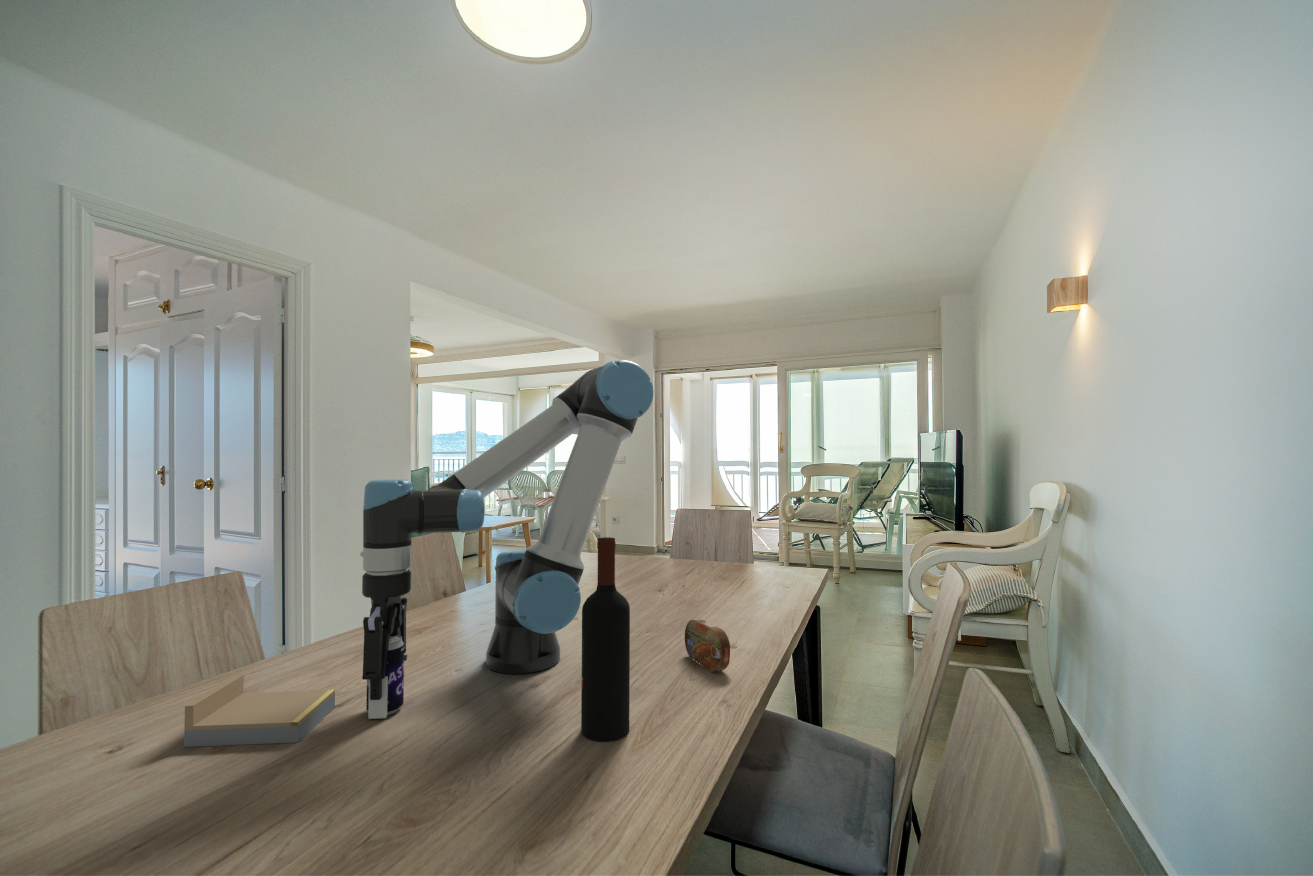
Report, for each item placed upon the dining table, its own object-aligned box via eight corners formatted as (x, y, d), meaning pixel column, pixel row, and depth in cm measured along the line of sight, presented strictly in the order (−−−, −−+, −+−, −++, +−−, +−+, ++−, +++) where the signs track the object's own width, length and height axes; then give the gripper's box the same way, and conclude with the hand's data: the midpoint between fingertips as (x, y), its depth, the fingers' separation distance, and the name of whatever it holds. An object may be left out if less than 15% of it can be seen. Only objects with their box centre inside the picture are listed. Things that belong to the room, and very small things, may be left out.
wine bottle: (591, 746, 86) (592, 543, 87) (574, 725, 93) (575, 537, 94) (637, 735, 90) (638, 540, 91) (617, 715, 96) (618, 534, 97)
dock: (334, 707, 99) (335, 672, 99) (297, 742, 87) (298, 702, 87) (235, 711, 98) (236, 675, 98) (184, 747, 86) (184, 705, 86)
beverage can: (389, 720, 95) (390, 645, 95) (358, 716, 96) (359, 643, 96) (410, 705, 100) (411, 635, 100) (381, 702, 101) (382, 633, 102)
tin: (683, 654, 126) (683, 615, 126) (696, 652, 128) (696, 613, 128) (719, 678, 113) (719, 634, 113) (733, 676, 114) (733, 632, 114)
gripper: (384, 560, 108) (382, 687, 107) (339, 583, 89) (336, 736, 88) (426, 560, 108) (425, 686, 108) (390, 582, 90) (387, 734, 89)
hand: (385, 708), depth 98 cm, fingers closed on beverage can, 6 cm apart
